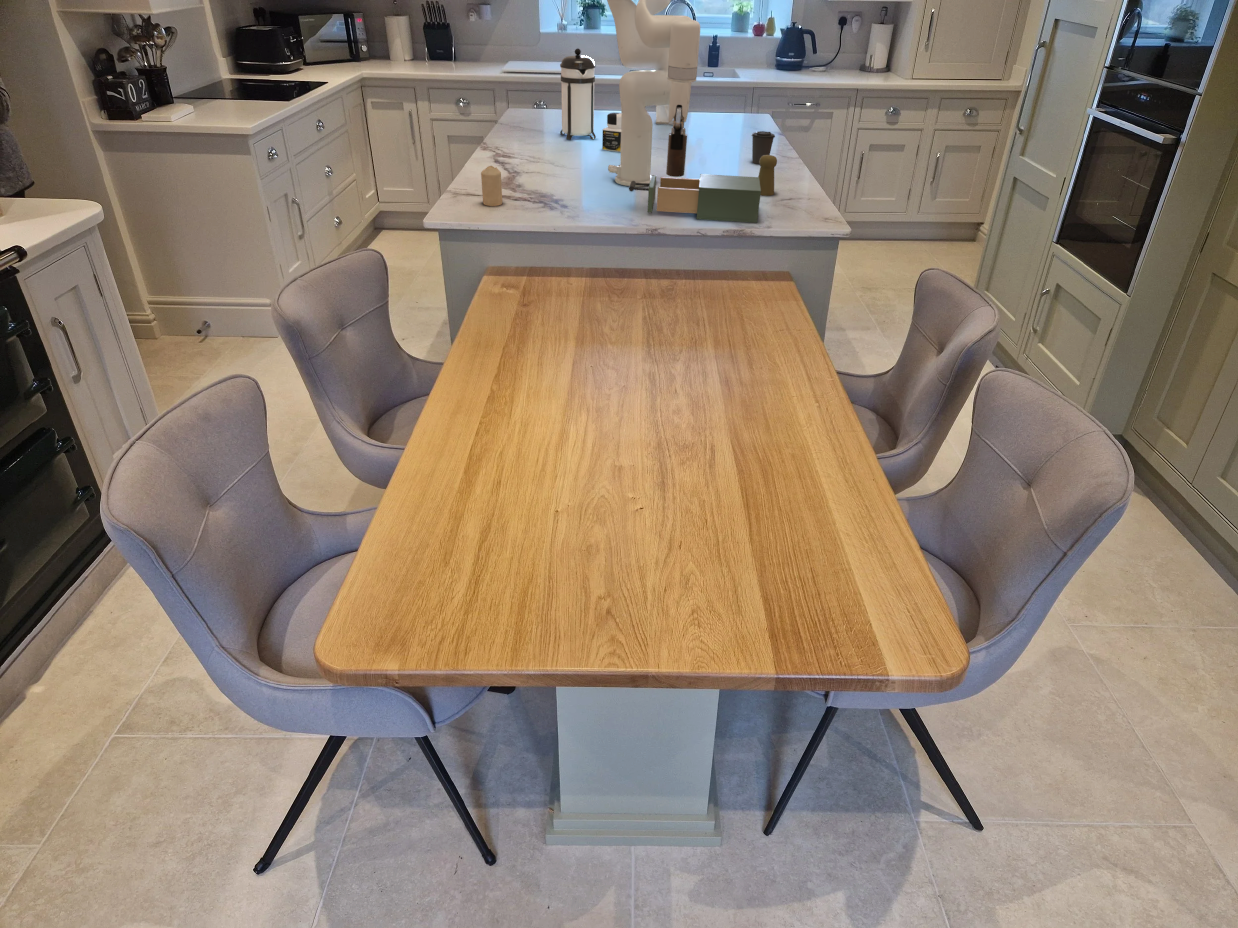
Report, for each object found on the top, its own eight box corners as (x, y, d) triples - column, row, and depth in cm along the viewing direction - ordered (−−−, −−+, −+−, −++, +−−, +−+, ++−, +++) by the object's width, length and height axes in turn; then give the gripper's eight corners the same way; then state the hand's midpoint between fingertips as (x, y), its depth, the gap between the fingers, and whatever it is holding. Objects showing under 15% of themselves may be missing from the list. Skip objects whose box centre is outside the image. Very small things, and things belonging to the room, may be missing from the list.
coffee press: (606, 136, 309) (608, 48, 292) (582, 143, 297) (583, 52, 281) (569, 130, 316) (569, 44, 300) (545, 136, 305) (543, 48, 288)
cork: (773, 196, 244) (778, 158, 238) (753, 195, 245) (758, 157, 239) (774, 191, 249) (779, 154, 243) (754, 189, 250) (759, 152, 244)
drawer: (626, 211, 224) (627, 186, 220) (631, 198, 235) (632, 174, 232) (703, 215, 223) (705, 190, 219) (704, 202, 234) (706, 178, 230)
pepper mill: (665, 176, 222) (668, 130, 216) (666, 171, 227) (669, 126, 220) (683, 177, 222) (687, 131, 215) (684, 172, 226) (688, 127, 219)
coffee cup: (776, 163, 280) (780, 132, 274) (763, 167, 275) (766, 135, 269) (757, 159, 284) (760, 128, 279) (743, 162, 279) (746, 131, 274)
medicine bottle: (601, 150, 289) (602, 114, 282) (609, 146, 295) (610, 111, 288) (620, 152, 287) (621, 116, 280) (627, 148, 292) (629, 113, 286)
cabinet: (696, 219, 223) (699, 187, 218) (697, 204, 235) (700, 174, 230) (757, 223, 221) (760, 191, 217) (755, 208, 234) (759, 177, 229)
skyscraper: (652, 123, 331) (655, 47, 315) (654, 120, 338) (658, 45, 322) (672, 125, 330) (677, 48, 314) (674, 121, 337) (679, 46, 321)
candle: (483, 200, 232) (481, 164, 226) (502, 201, 232) (501, 164, 227) (482, 206, 227) (480, 169, 222) (502, 206, 228) (500, 169, 222)
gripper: (669, 68, 217) (665, 139, 227) (665, 78, 203) (661, 154, 213) (697, 69, 217) (691, 140, 227) (695, 80, 203) (689, 155, 213)
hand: (677, 146), depth 220 cm, fingers closed on pepper mill, 5 cm apart
